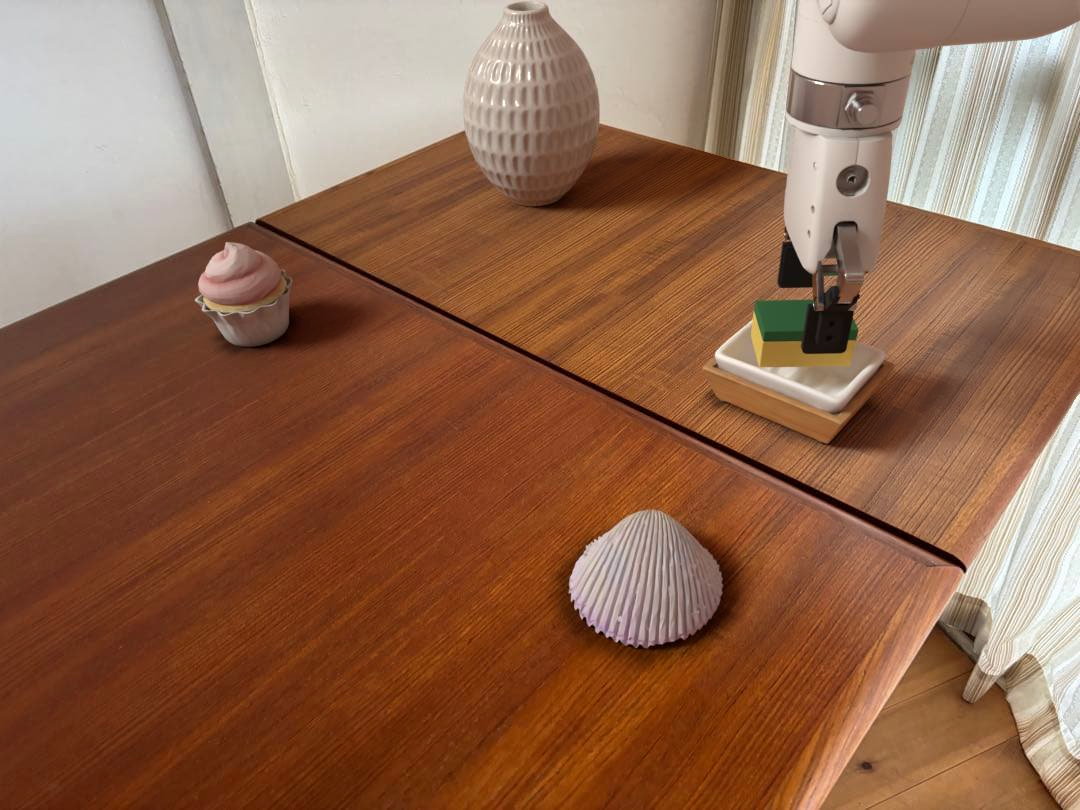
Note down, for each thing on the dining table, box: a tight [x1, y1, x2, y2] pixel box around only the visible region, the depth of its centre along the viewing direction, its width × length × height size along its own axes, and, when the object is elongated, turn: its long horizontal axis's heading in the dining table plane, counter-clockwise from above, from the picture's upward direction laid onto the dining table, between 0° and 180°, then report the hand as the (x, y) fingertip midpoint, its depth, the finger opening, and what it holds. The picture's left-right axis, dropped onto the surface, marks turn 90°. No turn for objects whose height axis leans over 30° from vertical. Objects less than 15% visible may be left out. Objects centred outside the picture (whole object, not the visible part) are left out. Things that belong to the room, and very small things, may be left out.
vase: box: [462, 0, 601, 207], centre depth 100 cm, size 16×16×22 cm
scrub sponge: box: [751, 299, 859, 367], centre depth 68 cm, size 7×5×4 cm, turn 88°
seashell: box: [568, 509, 724, 649], centre depth 57 cm, size 10×6×10 cm
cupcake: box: [194, 241, 293, 348], centre depth 82 cm, size 9×9×10 cm
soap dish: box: [701, 319, 896, 444], centre depth 71 cm, size 12×10×5 cm
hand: (809, 317), depth 67 cm, fingers open, 9 cm apart
